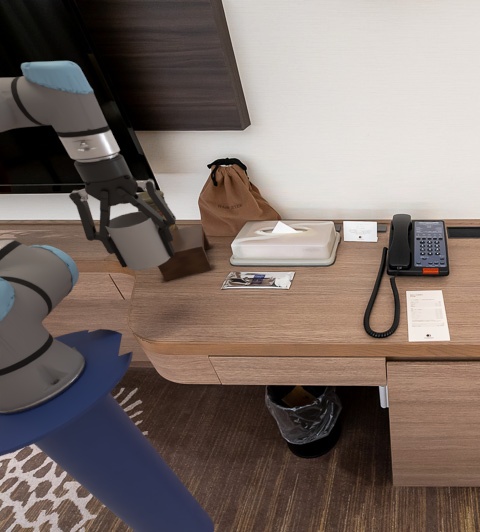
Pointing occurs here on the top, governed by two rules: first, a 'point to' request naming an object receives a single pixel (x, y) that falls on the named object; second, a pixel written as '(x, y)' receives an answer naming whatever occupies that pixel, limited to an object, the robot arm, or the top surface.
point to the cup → (138, 241)
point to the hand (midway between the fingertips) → (149, 258)
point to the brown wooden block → (187, 253)
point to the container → (150, 202)
